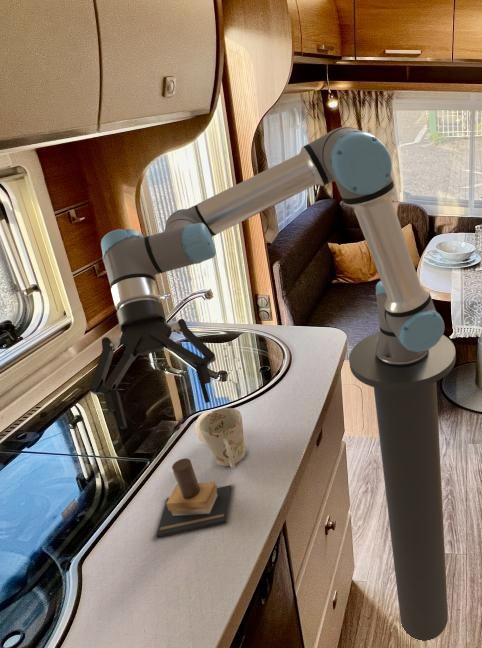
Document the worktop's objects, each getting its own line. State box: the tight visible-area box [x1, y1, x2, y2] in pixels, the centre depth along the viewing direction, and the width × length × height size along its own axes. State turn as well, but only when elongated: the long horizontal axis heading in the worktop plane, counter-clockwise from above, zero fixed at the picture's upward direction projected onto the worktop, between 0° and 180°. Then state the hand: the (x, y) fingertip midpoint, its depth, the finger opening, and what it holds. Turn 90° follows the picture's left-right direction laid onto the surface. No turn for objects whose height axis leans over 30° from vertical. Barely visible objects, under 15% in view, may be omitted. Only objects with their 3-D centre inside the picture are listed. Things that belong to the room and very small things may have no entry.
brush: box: [165, 458, 218, 516], centre depth 94 cm, size 7×5×10 cm, turn 92°
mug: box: [199, 407, 246, 469], centre depth 105 cm, size 8×13×10 cm, turn 33°
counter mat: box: [155, 484, 232, 538], centre depth 96 cm, size 12×9×1 cm
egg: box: [194, 410, 214, 445], centre depth 112 cm, size 6×6×8 cm
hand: (166, 414), depth 88 cm, fingers open, 13 cm apart
